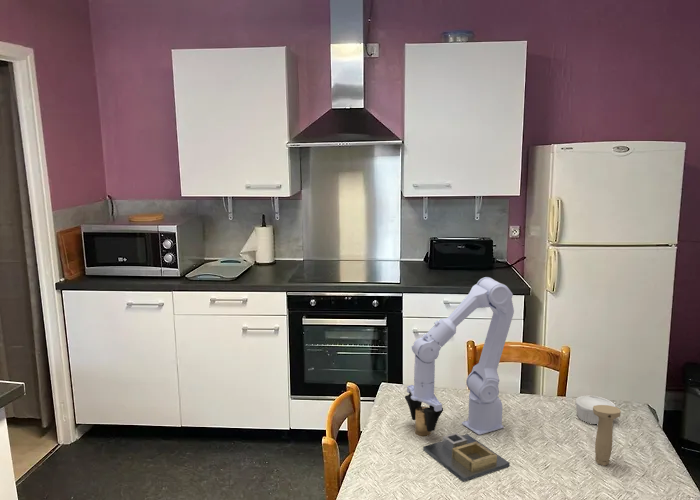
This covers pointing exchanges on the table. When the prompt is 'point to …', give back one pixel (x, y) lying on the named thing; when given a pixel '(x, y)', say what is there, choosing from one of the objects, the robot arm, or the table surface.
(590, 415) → the ramekin
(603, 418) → the handle
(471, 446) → the fitting plate
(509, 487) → the table surface
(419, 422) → the cylindrical peg
